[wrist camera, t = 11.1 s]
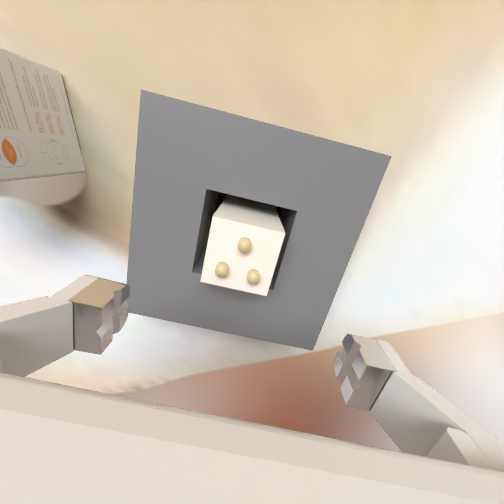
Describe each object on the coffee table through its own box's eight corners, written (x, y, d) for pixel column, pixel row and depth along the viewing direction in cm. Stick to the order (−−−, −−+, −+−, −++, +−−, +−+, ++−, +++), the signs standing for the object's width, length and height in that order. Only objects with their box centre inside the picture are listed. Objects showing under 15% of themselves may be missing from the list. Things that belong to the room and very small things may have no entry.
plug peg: (274, 203, 25) (286, 236, 15) (262, 245, 26) (267, 301, 16) (229, 192, 24) (210, 218, 14) (220, 236, 26) (198, 286, 16)
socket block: (352, 156, 23) (391, 156, 16) (299, 305, 28) (312, 350, 22) (175, 109, 22) (141, 89, 15) (156, 274, 27) (124, 311, 21)
